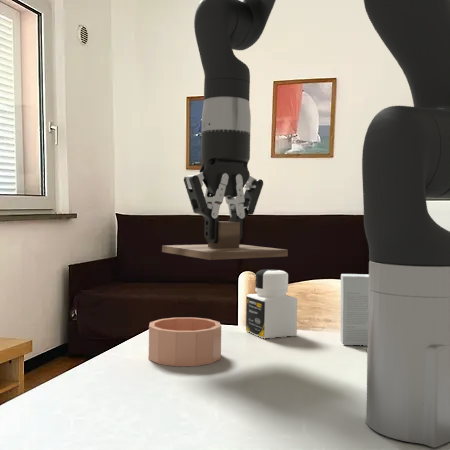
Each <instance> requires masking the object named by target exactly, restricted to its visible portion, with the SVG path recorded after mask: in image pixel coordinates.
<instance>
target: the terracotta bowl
mask: <svg viewBox="0 0 450 450" xmlns="http://www.w3.org/2000/svg"><path fill="white" fill-rule="evenodd" d="M221 359H222V324H221V323H220V321H217V320H213V319H211V318H202V317H193V316H192V317H191V316H190V317H169V318H167V317H166V318H161V319H160V318H159V319H157V320H153V321H150V322H149V325H148V361H149V360H150V361H151V362H153V363H156V364H159V365H164V366H172V367H198V366H204V365H209V364H210V365H211V364H214V363H215V362H217V361H219V360H221Z"/></svg>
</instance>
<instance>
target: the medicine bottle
mask: <svg viewBox="0 0 450 450" xmlns="http://www.w3.org/2000/svg"><path fill="white" fill-rule="evenodd" d="M254 291H255V292H256V293H248V294H247V295H245V296H246V301H245V302H246V303H245V304H246V307H245V308H246V309H245V331H246V332H247V331H248V332H247V333H249V332H250V333H249V334H251V333H252V334H251V335H253V334H254V336H256V337H258V336H259V337H258V338H260V337H261V339H263V338H264V339H263V340H266V339H265V338H270V339H276V338H275V337H281V338H288V337H287V336H291V337H296V336H297V335H298V298H297V297H295V296H291V295H288V294H287V293H288V292H289V273H288V272H286V271H285V270H282V269H270V268H269V269H260V270H258V271H257V272H256V273H255V290H254Z"/></svg>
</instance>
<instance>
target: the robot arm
mask: <svg viewBox="0 0 450 450" xmlns="http://www.w3.org/2000/svg"><path fill="white" fill-rule="evenodd" d="M275 4H276V0H200V1H199V3H198V4H197V7H196V10H195V13H194V23H193V27H194V33H195V34H194V35H195V38H196V39H195V40H196V44H197V48H198V52H199V57H200V61H201V66H202V69H203V75H204V81H203V87H204V88H203V104H202V106H203V107H202V112H201V135H200V137H201V141H200V143H201V146H200V159H201V161H202V164H201V167H200V169H199V172H198V173H195V174H193V175H185V176H184V178H183V183H184V185H185V189H186V192H187V195H188V199H189V202H190V205H191V208H192V210H193V213H194V214H198V215H199V216H202V217H203V219H204V225H203V226H204V227H203V229H204V233H203V234H204V235H203V236H204V239H205V240H206V242H207V244H208V243H218V223H219V218H218V217H219V212H220V208H221V206H222V203H223V201H224V198H225V203H226V204H227V207H228V212H229V217H230V218H228V222H240V240H242V237H243V225H244V223H243V221H244V219H245V217H247V216H249V215H250V216H251V215H253V214H254V213H255V210H256V207H257V205H258V204H257V203H258V201H259V199H260V195H261V194H262V193H261V192H262V189H263V186H264V180H262V179H257V178H255V177H253V176H251V175H250V171H249V169H248V168H249V167H248V163H249V161H250V158H251V127H252V126H251V125H252V123H251V117H252V116H251V108H250V104H251V103H250V96H251V95H250V90H251V89H250V88H251V74H250V69H249V67H248V65H247V64H246V63H245V62H243V61H242V60H241V59H240V58H238V57H236V55H235V53H234V50H235V51H245V50H247V49H249V48H251V47H253V45H254V44H256V43H257V42H258V40H259V39H260V38H261V36H262V34H263V32H264V31H265V28H266V26H267V23H268V21H269V18H270V15H271V14H272V10H273V8H274V6H275ZM363 4H364V8H365V13H366V15H367V18H368V19H369V21H370V23H371V24H372V27H373V28H374V30H375V31H376V33H377V34H378V36H379V38H380V40H381V41H382V42H383V44H384V45H385V47H386V48H387V50H388V51H389V52H390V54H391V55H392V57H393V58H394V59H395V61H396V62H397V64H398V66H399V68H400V69H401V71H402V72H403V74H404V77H405V78H406V81H407V84H408V86H409V90H410V94H411V97H412V103H413V106H409V105H391V106H387V107H385V108H383V109H381V110H380V111H379V112H378V113H376V115H375V116H374V117H373V118H372V119H371V121H370V123H369V125H368V126H367V129H366V133H365V136H364V139H363V140H364V141H363V145H362V155H361V156H362V157H361V173H362V174H361V175H362V176H361V177H362V196H363V197H362V199H363V201H362V202H363V227H364V233H365V238H366V241H367V244H368V252H369V254H368V259H369V262H368V274H369V291H368V344H367V346H366V347H367V349H366V350H367V351H366V352H367V353H366V354H367V355H366V357H367V358H366V412H365V413H366V415H365V419H366V420H365V421H366V424H367V425H368V427H369V428H370V429H372V430H373V431H375V432H376V433H378V434H380V435H382V436H385V437H387V438H391V439H394V440H398V441H403V442H408V443H415V444H421V445H426V446H428V447H430V448H438V447H440V446H443V445H445V444H447V443H450V230H448V229H446V228H444V227H442V226H441V225H440V224H438V223H437V222H436V220H434V219H433V218H432V216H431V214H430V213H429V209H428V204H427V198H429V199H431V198H433V199H435V198H437V199H442V198H443V199H447V198H449V199H450V0H363ZM203 186H204V187H206V189H205V193H204V190H203ZM244 189H245V192H244Z"/></svg>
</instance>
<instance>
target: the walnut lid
mask: <svg viewBox="0 0 450 450" xmlns="http://www.w3.org/2000/svg"><path fill="white" fill-rule="evenodd" d="M240 241H241V239H240V222H229V221H228V220H227V221H219V223H218V243H208V242H207V244H173V245H170V244H169V245H168V244H167V245H161V252H162V253H165V254H166V253H167V254H172V255H178V256H179V255H180V256H185V257H190V258H196V259H197V258H198V259H203V260H208V261H212V260H213V261H215V260H233V259H234V260H239V259H240V260H241V259H260V258H261V259H262V258H281V257H283V258H284V257H288V255H289V252H288V251H289V250H288V249H284V248H274V247H265V246H257V245H249V244H241V243H240Z"/></svg>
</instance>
